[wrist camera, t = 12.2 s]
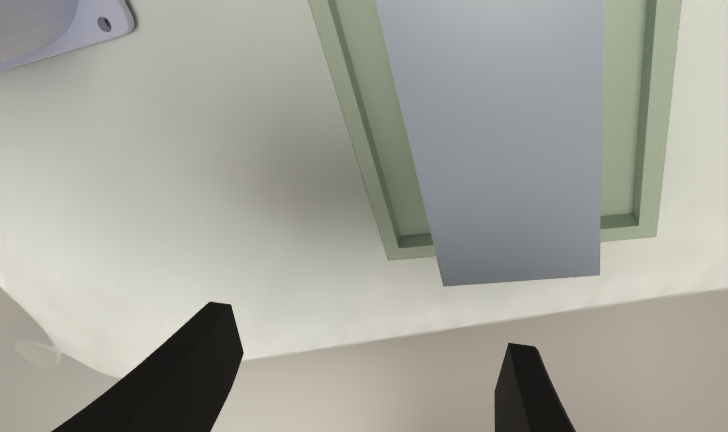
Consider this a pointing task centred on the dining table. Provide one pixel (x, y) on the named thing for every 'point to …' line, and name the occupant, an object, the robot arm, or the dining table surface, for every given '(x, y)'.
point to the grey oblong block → (503, 131)
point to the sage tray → (619, 117)
